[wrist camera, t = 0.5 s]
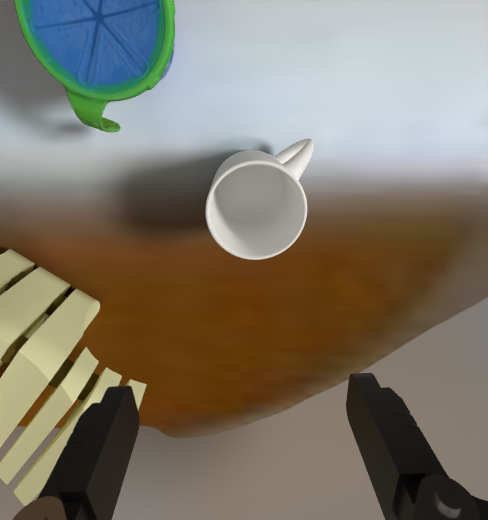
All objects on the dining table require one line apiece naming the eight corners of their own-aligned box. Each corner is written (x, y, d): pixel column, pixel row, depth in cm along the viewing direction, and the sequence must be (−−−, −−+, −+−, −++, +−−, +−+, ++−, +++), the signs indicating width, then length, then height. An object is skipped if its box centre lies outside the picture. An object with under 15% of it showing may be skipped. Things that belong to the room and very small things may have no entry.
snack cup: (159, 147, 35) (132, 157, 25) (61, 99, 33) (-9, 91, 23) (219, -15, 29) (212, -78, 20) (105, -86, 27) (38, -193, 18)
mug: (326, 166, 36) (360, 183, 26) (250, 238, 39) (255, 277, 29) (273, 106, 33) (290, 101, 24) (197, 188, 37) (183, 214, 27)
